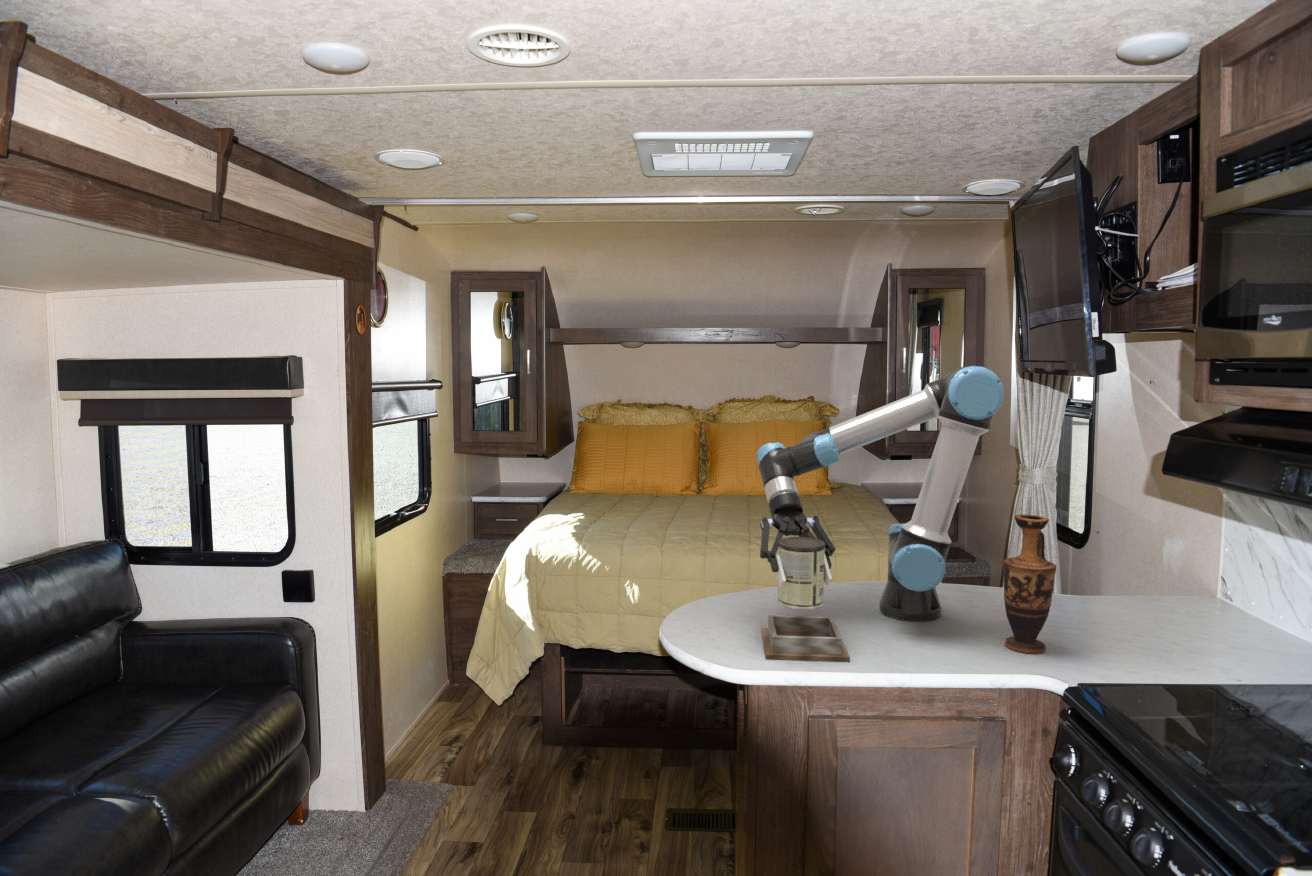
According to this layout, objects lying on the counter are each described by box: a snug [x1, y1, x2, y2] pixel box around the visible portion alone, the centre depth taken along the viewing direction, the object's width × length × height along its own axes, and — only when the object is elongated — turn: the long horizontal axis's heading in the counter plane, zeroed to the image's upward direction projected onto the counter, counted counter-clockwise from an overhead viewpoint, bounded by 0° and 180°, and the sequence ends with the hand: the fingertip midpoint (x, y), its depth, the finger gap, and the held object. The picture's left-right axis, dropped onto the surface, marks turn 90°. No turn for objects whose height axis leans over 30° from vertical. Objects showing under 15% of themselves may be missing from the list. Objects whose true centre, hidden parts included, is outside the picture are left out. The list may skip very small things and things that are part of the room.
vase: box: [1002, 513, 1057, 655], centre depth 182 cm, size 11×11×30 cm
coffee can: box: [777, 536, 825, 611], centre depth 183 cm, size 10×10×14 cm
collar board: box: [760, 614, 851, 663], centre depth 184 cm, size 18×18×4 cm
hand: (806, 582), depth 180 cm, fingers closed on coffee can, 10 cm apart
